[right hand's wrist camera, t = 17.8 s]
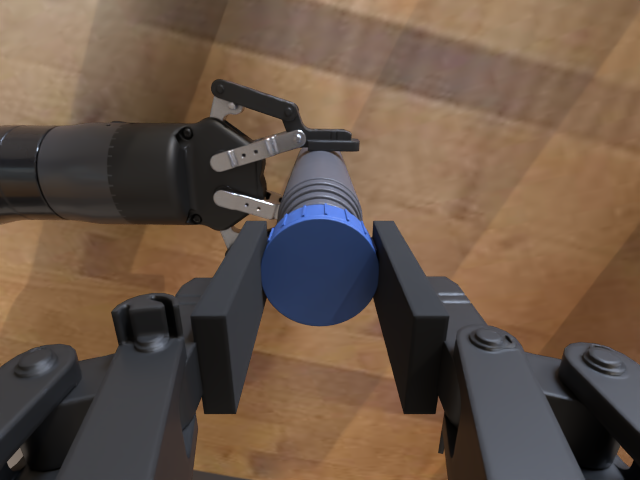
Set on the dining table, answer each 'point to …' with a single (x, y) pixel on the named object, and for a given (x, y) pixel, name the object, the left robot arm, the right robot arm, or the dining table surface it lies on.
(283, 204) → the bottle
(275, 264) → the cap
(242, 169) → the left robot arm
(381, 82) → the dining table surface
